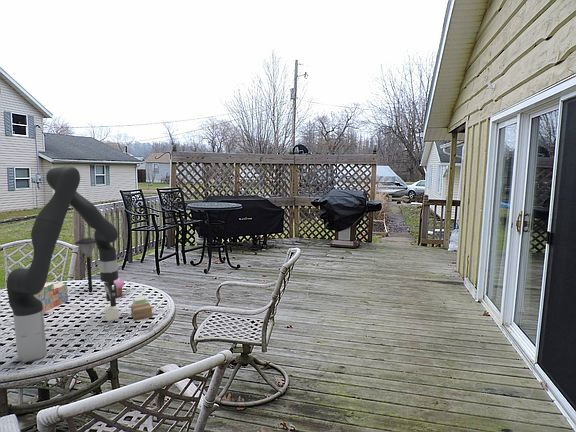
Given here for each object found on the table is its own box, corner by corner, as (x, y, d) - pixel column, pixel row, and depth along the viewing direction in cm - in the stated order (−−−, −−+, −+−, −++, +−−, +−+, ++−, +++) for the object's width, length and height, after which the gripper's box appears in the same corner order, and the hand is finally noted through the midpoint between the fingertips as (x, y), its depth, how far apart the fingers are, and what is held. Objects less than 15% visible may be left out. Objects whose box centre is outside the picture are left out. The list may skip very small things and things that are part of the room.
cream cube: (119, 318, 184) (118, 308, 183) (107, 321, 181) (106, 310, 180) (116, 315, 188) (116, 305, 187) (105, 317, 185) (104, 307, 184)
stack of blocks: (58, 300, 209) (56, 277, 208) (68, 300, 208) (66, 278, 207) (24, 315, 189) (22, 290, 187) (35, 316, 188) (33, 291, 186)
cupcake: (127, 293, 219) (126, 276, 218) (119, 299, 210) (118, 280, 209) (112, 293, 220) (111, 275, 219) (103, 298, 211) (102, 280, 210)
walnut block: (152, 317, 186) (151, 307, 185) (134, 320, 182) (133, 310, 181) (148, 312, 193) (148, 302, 192) (131, 315, 189) (130, 305, 188)
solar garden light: (104, 287, 230) (100, 236, 226) (101, 294, 219) (97, 240, 215) (80, 289, 226) (76, 237, 223) (76, 296, 215) (72, 241, 211)
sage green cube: (146, 308, 197) (146, 299, 196) (136, 310, 194) (135, 301, 193) (143, 305, 201) (143, 296, 200) (133, 307, 198) (132, 298, 197)
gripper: (97, 267, 185) (99, 300, 188) (103, 274, 174) (105, 310, 176) (114, 264, 189) (116, 297, 192) (121, 271, 178) (123, 306, 180)
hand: (111, 303), depth 184 cm, fingers open, 8 cm apart
